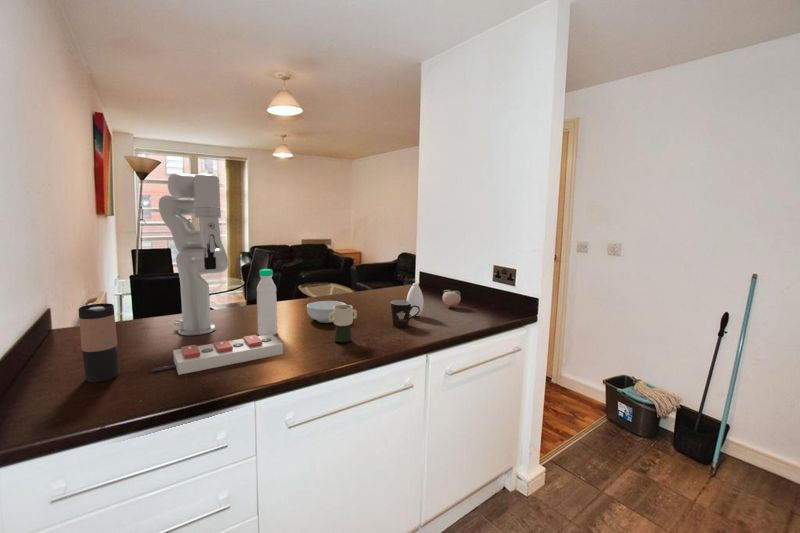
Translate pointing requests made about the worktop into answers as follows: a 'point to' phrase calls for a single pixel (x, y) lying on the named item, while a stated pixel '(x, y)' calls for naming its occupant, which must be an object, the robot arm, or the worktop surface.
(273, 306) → the water bottle
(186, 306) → the robot arm
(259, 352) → the power strip
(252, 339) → the rocker right
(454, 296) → the pale pink rounded piece
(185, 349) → the rocker left
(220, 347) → the rocker middle
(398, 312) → the coffee mug
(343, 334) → the character mug
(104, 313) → the travel mug
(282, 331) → the worktop surface
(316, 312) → the cereal bowl
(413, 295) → the sauce bottle
